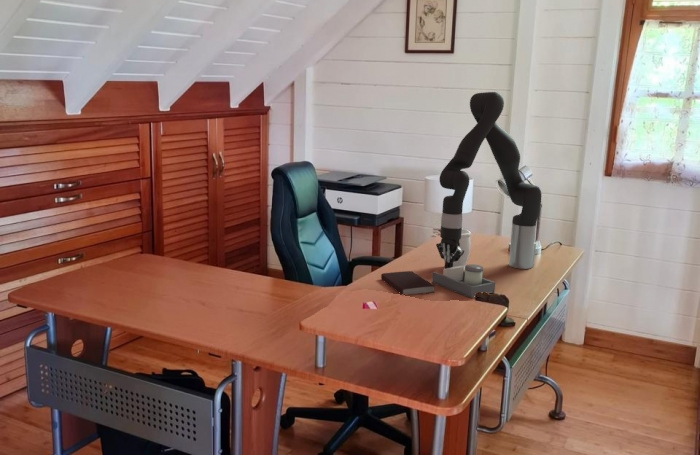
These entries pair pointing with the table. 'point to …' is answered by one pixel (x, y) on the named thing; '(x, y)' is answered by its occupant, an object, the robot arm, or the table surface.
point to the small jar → (473, 274)
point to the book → (408, 282)
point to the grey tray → (463, 285)
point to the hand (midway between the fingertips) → (448, 271)
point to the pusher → (454, 272)
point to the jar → (464, 248)
